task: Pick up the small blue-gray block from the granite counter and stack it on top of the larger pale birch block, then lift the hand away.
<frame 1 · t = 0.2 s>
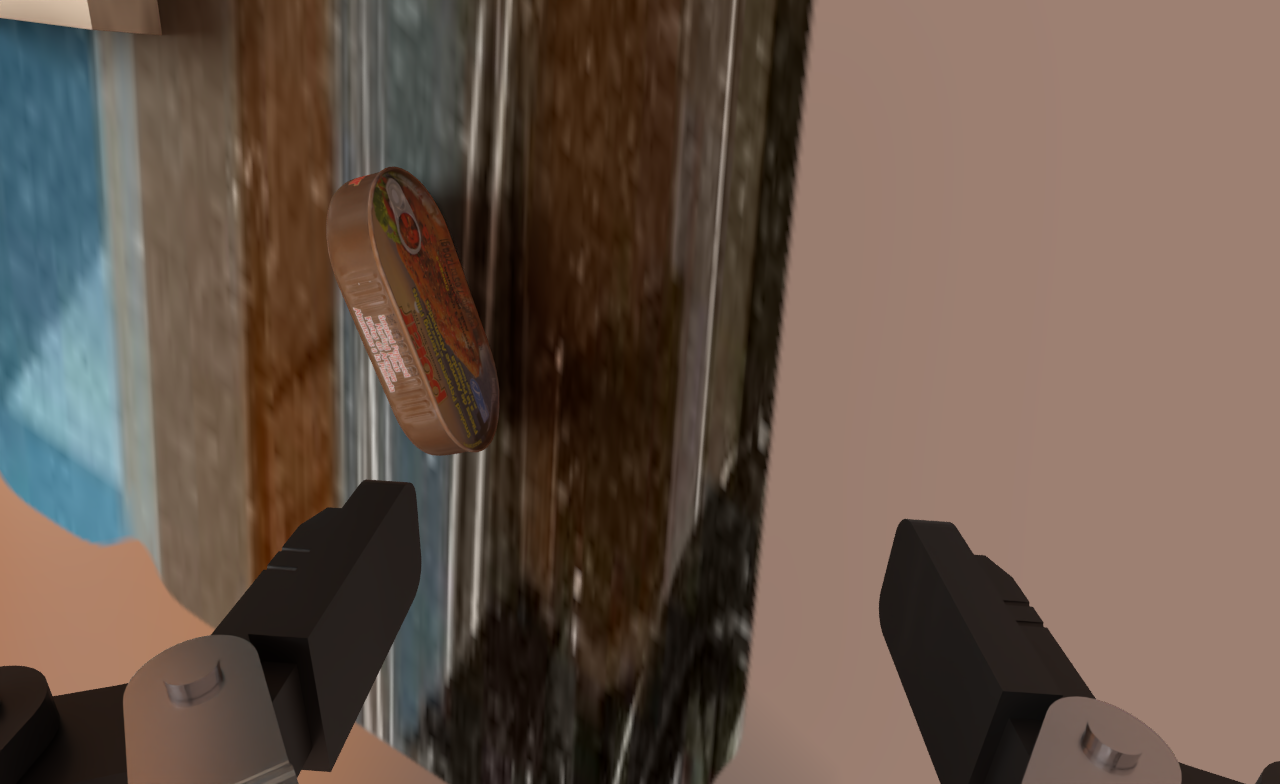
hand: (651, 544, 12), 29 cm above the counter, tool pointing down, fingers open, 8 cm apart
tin: (446, 296, 40), on the counter
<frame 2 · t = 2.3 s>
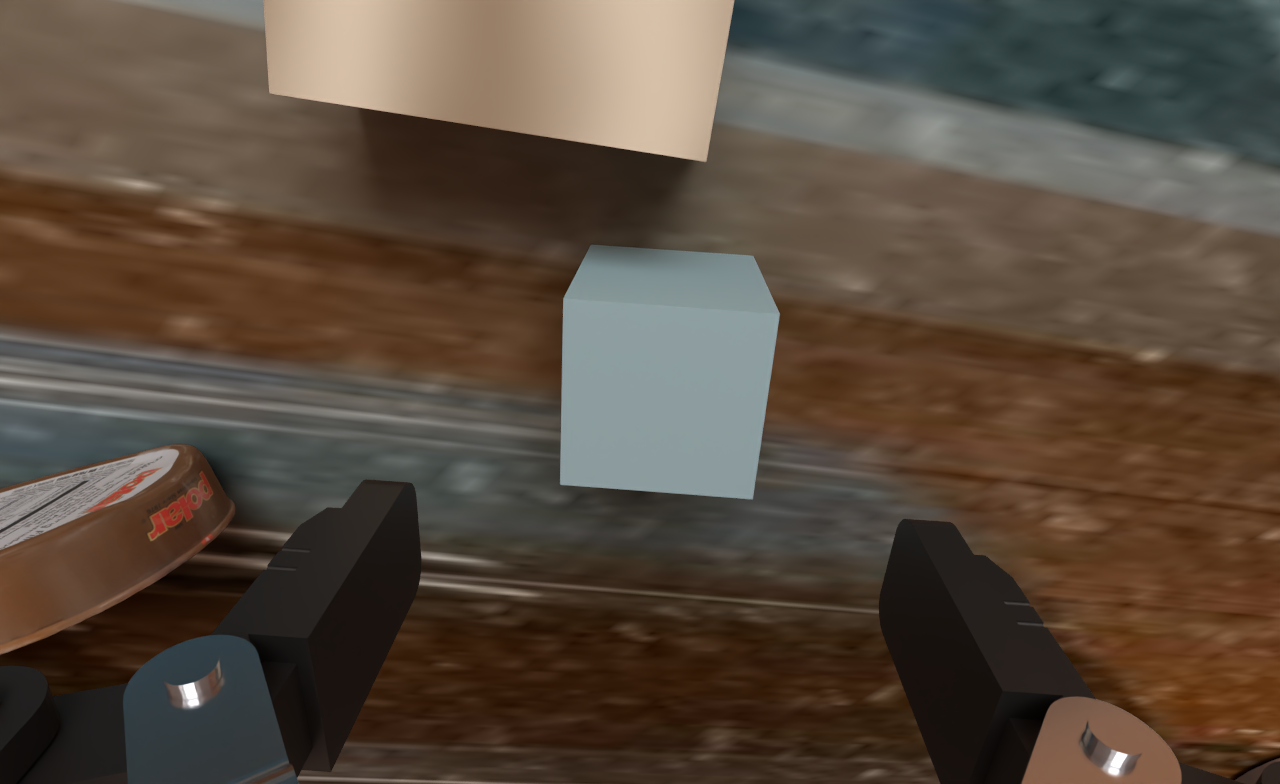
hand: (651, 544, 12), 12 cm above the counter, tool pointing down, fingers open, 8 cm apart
blue-gray block: (665, 326, 23), on the counter
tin: (92, 487, 27), on the counter
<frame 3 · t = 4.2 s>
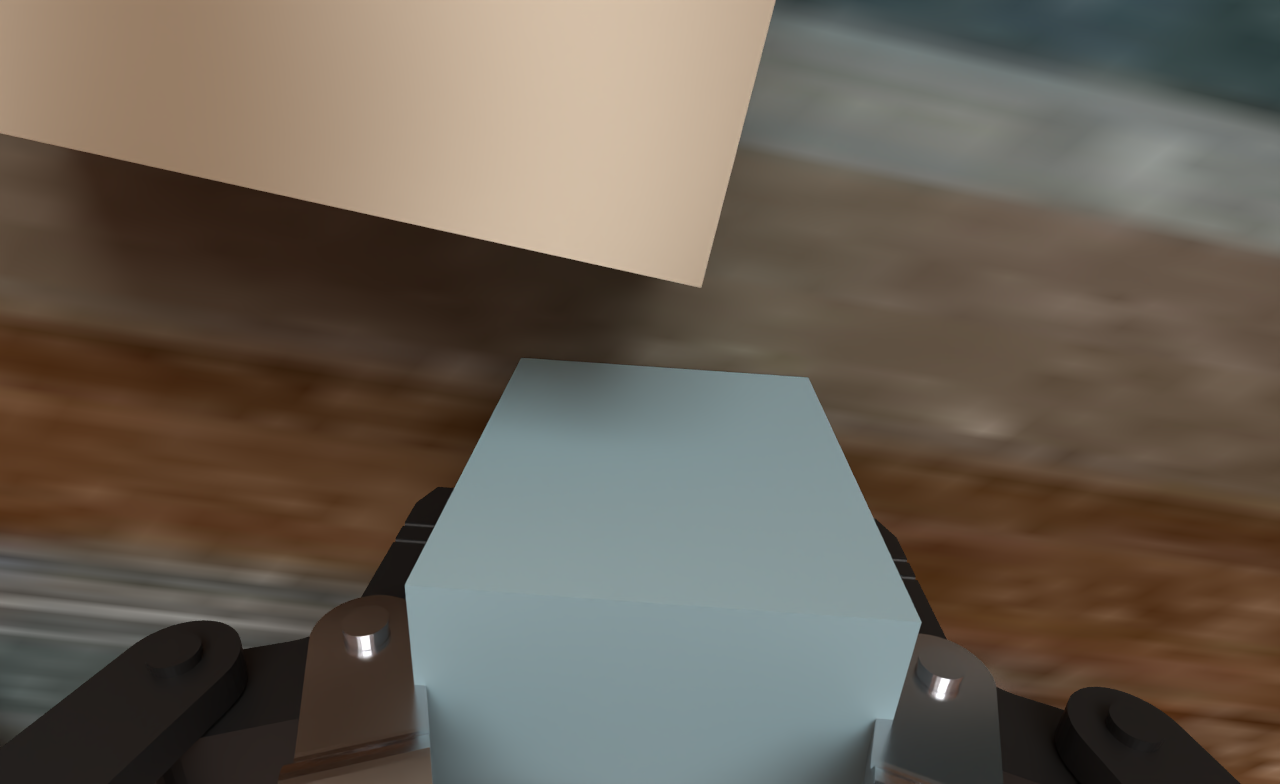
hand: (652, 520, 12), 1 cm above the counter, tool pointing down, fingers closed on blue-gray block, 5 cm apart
blue-gray block: (654, 490, 13), on the counter, touching gripper
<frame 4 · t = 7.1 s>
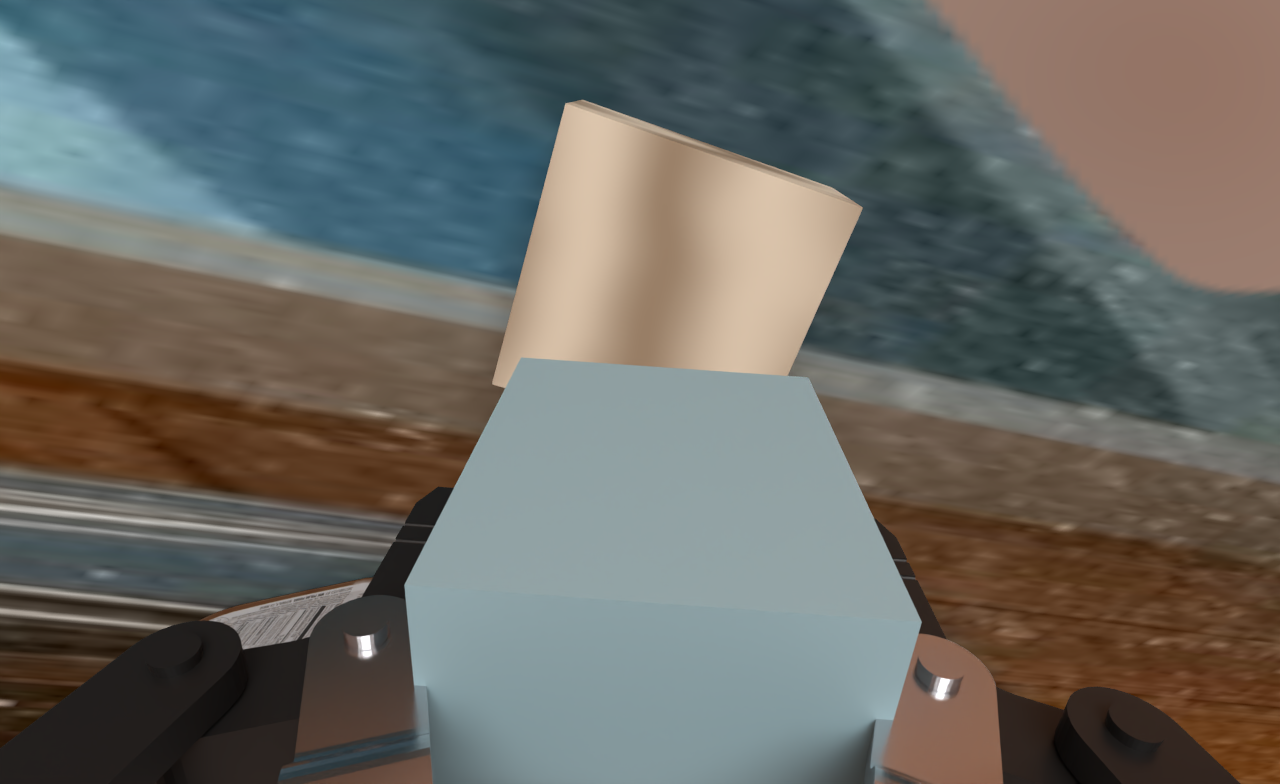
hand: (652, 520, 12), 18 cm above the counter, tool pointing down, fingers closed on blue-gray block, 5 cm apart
blue-gray block: (654, 489, 13), point 17 cm above the counter, touching gripper
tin: (311, 601, 37), on the counter
birch block: (666, 266, 29), on the counter
when the fingers open (7 cm above the counter, at t = 9.8 s): blue-gray block drops 2 cm, resting on birch block.
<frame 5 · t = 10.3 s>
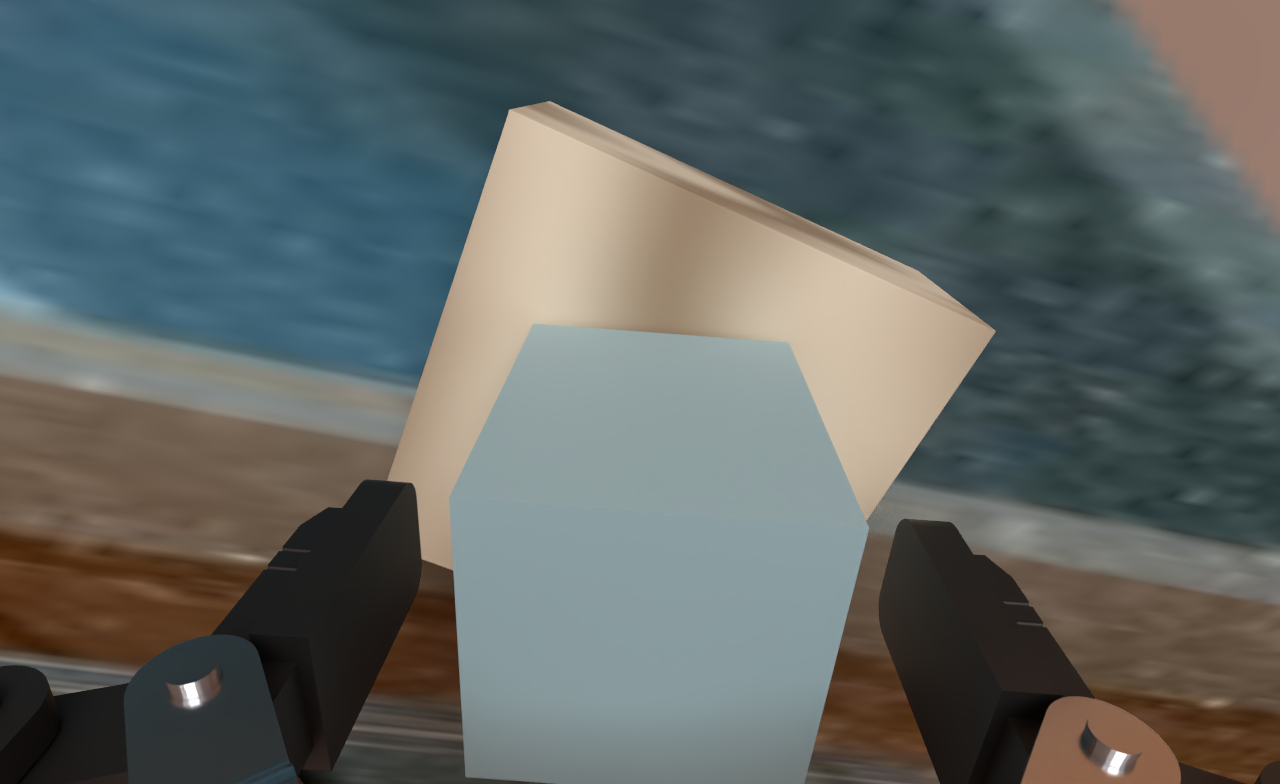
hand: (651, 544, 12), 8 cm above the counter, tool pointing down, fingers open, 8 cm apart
blue-gray block: (651, 444, 15), point 5 cm above the counter, touching birch block
birch block: (657, 358, 20), on the counter, touching blue-gray block
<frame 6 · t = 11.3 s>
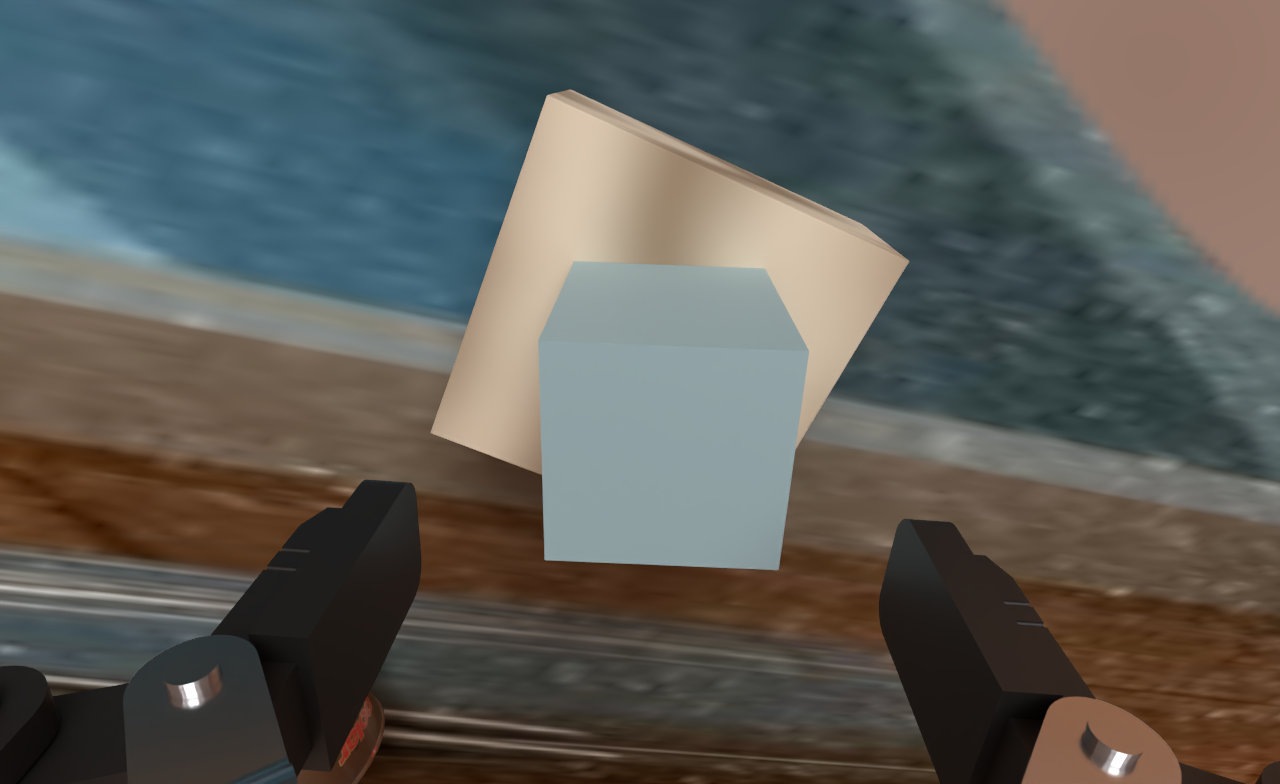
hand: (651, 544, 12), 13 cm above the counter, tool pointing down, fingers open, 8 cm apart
blue-gray block: (665, 353, 20), point 5 cm above the counter
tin: (251, 677, 32), on the counter
birch block: (656, 298, 24), on the counter
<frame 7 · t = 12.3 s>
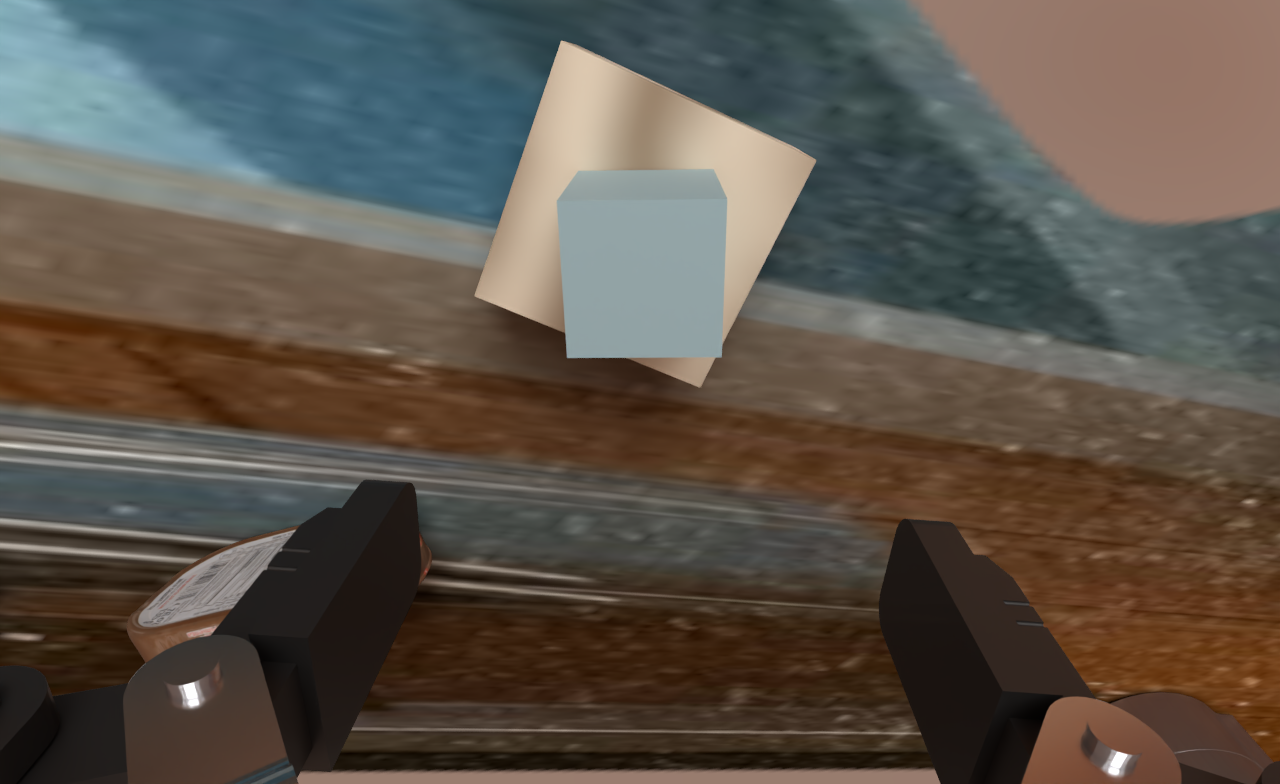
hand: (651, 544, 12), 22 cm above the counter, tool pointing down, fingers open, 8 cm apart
blue-gray block: (646, 237, 27), point 5 cm above the counter
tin: (320, 533, 40), on the counter
birch block: (640, 207, 32), on the counter
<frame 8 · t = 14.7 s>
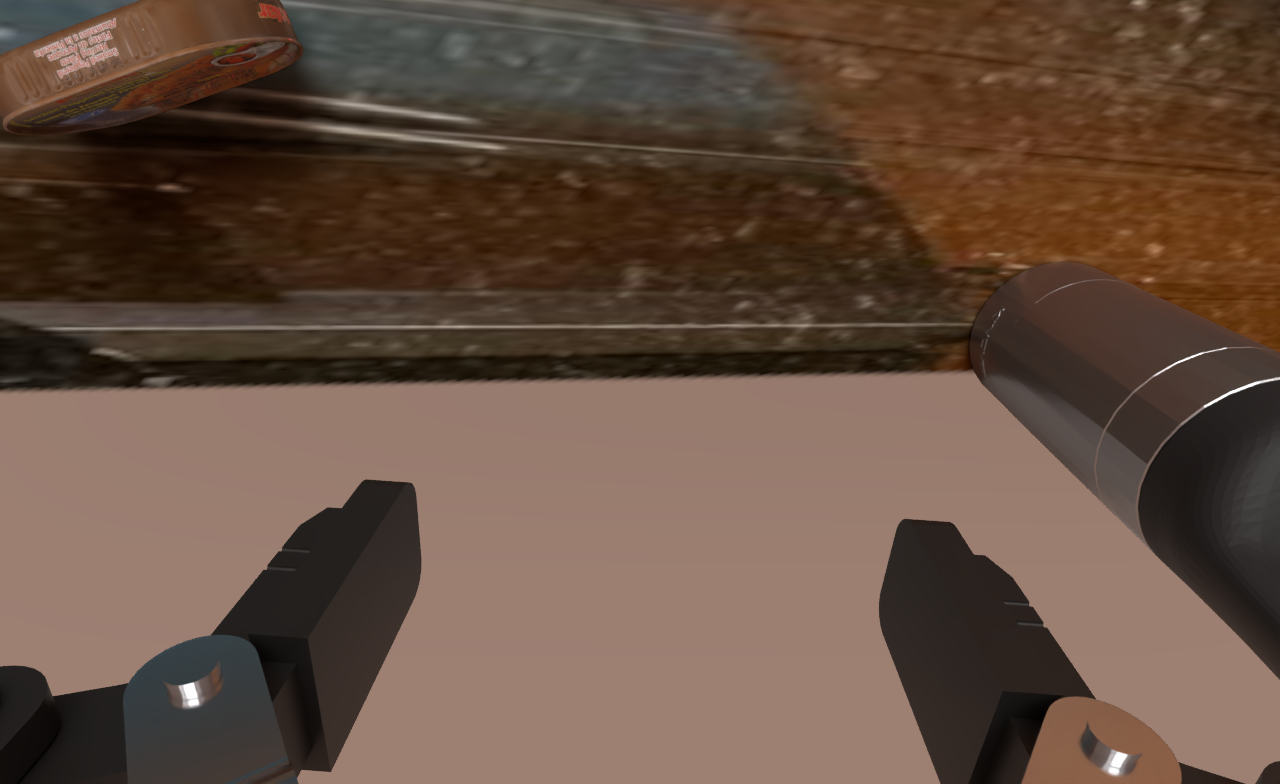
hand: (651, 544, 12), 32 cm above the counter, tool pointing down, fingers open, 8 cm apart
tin: (200, 65, 39), on the counter
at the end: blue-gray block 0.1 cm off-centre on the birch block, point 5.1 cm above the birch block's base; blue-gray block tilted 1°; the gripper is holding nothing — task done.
